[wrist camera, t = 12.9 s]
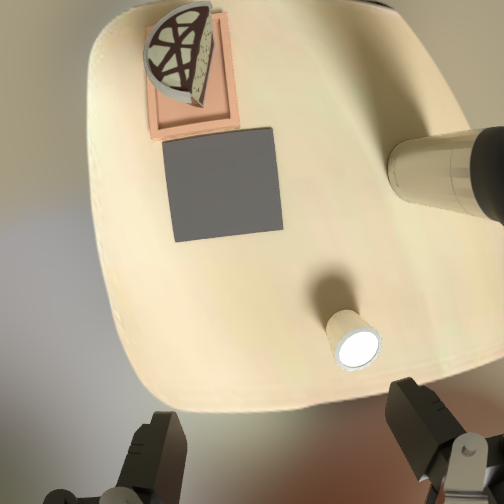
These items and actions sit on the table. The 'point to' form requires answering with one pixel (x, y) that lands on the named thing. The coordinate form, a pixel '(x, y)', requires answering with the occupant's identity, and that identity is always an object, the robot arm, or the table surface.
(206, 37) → the food container
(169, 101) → the dish
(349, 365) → the white cup
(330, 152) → the table surface
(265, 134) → the mat
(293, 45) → the table surface
